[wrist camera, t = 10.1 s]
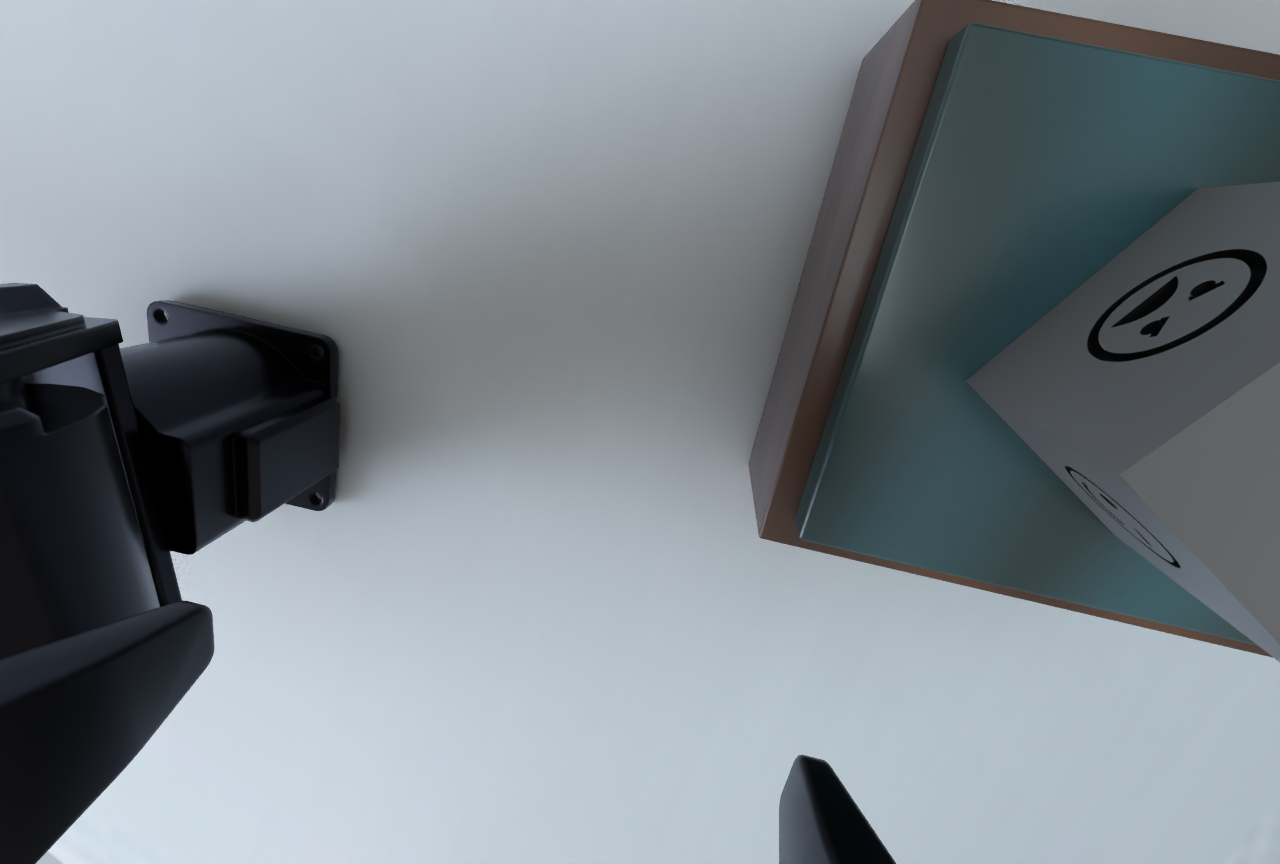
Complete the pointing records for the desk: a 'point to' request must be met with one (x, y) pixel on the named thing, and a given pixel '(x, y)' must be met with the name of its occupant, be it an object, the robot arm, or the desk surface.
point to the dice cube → (1170, 399)
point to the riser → (988, 290)
